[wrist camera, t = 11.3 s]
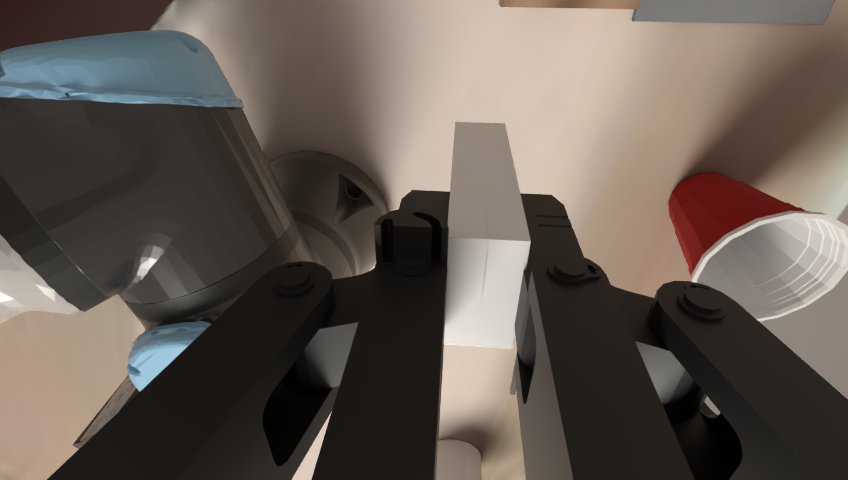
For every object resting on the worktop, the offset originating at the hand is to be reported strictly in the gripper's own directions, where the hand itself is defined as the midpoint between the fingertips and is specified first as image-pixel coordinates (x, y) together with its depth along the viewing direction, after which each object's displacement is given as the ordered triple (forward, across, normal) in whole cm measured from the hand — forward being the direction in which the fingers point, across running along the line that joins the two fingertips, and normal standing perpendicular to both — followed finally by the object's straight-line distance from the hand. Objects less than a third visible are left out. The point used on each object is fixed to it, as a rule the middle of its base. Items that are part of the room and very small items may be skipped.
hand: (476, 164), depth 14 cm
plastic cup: (+27, +23, -14) cm, 38 cm away
